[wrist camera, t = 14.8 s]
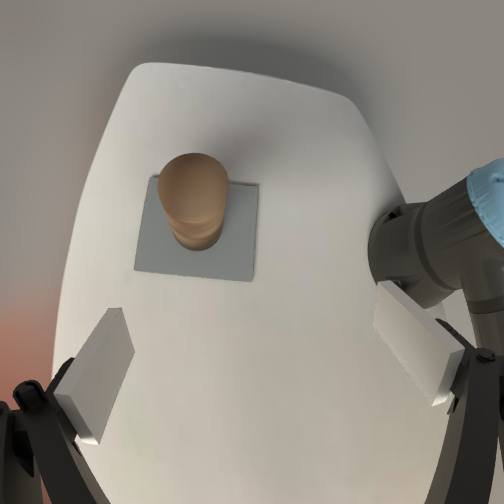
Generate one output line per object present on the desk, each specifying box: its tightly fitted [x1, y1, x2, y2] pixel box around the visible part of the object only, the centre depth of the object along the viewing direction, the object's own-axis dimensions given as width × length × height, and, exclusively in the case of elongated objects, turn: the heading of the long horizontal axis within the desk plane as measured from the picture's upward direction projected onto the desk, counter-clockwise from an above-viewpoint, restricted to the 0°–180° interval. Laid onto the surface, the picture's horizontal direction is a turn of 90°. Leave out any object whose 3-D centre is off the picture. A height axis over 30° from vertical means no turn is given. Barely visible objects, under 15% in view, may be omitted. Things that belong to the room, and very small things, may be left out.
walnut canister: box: [157, 153, 229, 251], centre depth 31 cm, size 6×6×12 cm
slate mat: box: [134, 177, 258, 282], centre depth 37 cm, size 14×12×1 cm
